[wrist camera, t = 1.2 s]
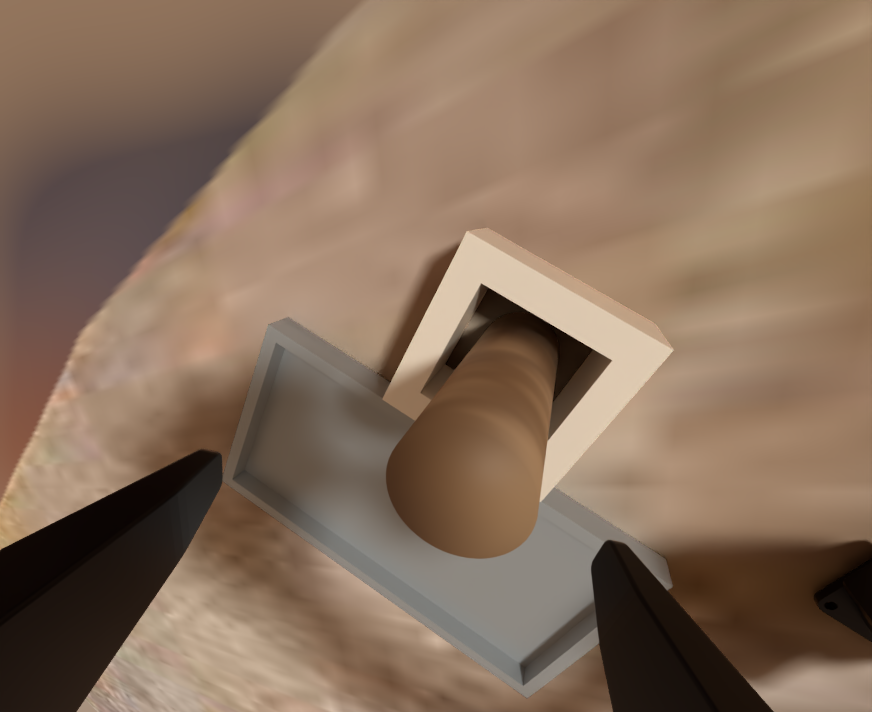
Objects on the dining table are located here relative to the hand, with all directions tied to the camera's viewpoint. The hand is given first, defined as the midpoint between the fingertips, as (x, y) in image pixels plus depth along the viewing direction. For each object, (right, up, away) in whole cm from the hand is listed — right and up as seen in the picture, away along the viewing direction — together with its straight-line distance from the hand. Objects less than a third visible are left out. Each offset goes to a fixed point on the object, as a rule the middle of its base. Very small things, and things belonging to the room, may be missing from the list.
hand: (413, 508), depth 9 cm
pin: (+5, +4, +12) cm, 13 cm away
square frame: (+5, +4, +12) cm, 13 cm away
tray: (-1, -6, +17) cm, 19 cm away
